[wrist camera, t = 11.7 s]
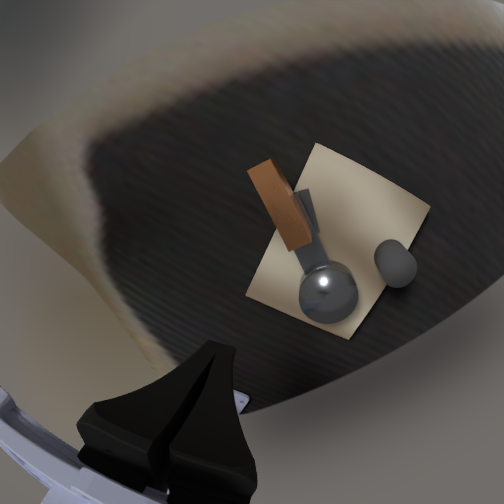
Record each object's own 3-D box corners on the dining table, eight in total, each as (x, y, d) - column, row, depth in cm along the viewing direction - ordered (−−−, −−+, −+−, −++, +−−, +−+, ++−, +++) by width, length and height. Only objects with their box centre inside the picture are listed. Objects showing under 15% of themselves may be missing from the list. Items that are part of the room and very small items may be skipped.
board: (347, 332, 22) (348, 340, 21) (248, 289, 23) (245, 295, 22) (425, 203, 18) (431, 206, 17) (315, 143, 18) (316, 142, 17)
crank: (362, 298, 20) (369, 324, 17) (312, 317, 21) (311, 345, 18) (295, 148, 17) (292, 147, 14) (240, 175, 18) (226, 181, 15)
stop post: (394, 276, 19) (404, 293, 17) (367, 263, 19) (375, 278, 17) (411, 248, 18) (423, 262, 16) (384, 233, 18) (394, 245, 16)
